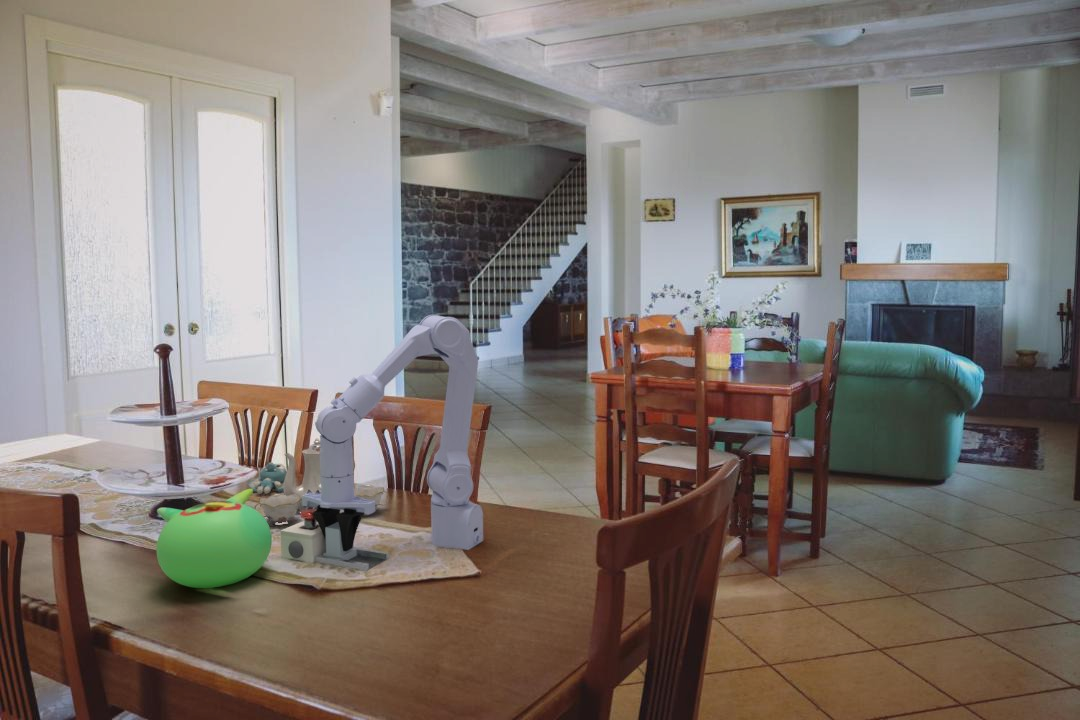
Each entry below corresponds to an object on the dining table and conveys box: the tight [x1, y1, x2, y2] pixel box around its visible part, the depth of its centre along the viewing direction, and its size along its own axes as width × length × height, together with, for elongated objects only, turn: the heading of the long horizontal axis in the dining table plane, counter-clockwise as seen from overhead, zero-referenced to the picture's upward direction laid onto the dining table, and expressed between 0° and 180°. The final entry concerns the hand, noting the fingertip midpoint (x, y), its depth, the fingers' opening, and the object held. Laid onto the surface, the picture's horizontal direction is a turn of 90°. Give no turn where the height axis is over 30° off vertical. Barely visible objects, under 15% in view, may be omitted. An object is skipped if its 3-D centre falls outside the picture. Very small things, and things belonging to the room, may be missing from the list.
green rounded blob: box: [156, 488, 273, 589], centre depth 141 cm, size 18×17×15 cm
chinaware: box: [253, 437, 390, 523], centre depth 181 cm, size 28×17×17 cm, turn 119°
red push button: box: [300, 509, 317, 530], centre depth 153 cm, size 3×3×5 cm
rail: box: [314, 546, 390, 572], centre depth 150 cm, size 11×7×2 cm, turn 66°
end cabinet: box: [280, 520, 326, 564], centre depth 153 cm, size 7×8×6 cm
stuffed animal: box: [247, 462, 287, 495], centre depth 201 cm, size 11×7×12 cm
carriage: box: [323, 522, 357, 560], centre depth 151 cm, size 4×4×6 cm
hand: (339, 548), depth 151 cm, fingers closed on carriage, 3 cm apart
